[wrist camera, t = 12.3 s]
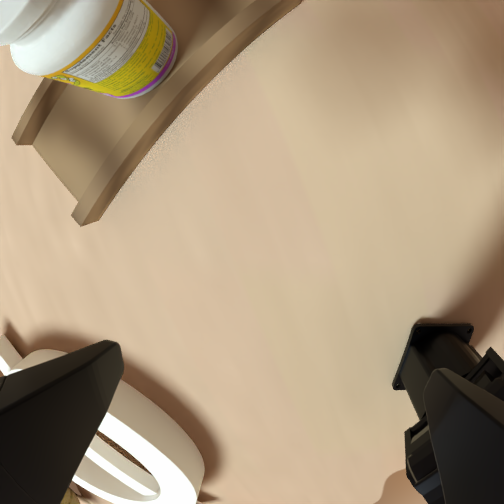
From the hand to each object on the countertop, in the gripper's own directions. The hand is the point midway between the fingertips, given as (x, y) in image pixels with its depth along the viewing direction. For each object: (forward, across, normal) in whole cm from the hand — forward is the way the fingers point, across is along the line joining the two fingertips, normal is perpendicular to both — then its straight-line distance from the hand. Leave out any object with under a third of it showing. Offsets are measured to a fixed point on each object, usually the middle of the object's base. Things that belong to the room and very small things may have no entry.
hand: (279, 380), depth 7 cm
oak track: (+13, +11, -13) cm, 22 cm away
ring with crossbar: (+14, +20, +27) cm, 36 cm away
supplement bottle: (+13, +11, -13) cm, 22 cm away
